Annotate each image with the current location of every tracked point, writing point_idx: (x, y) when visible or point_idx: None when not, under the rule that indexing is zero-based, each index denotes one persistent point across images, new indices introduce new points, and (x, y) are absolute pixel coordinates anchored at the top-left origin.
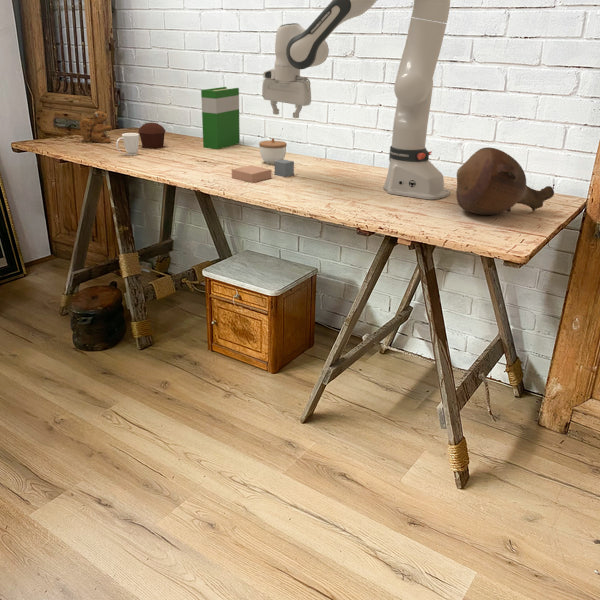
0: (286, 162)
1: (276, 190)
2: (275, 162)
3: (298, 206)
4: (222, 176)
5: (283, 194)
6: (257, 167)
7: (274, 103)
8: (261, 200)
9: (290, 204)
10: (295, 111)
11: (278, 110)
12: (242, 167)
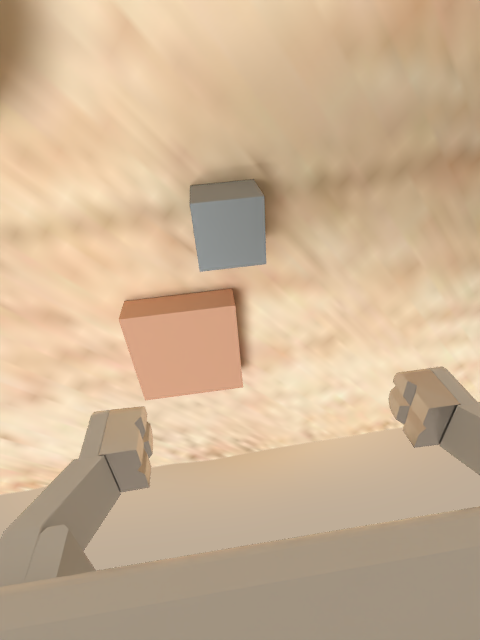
0: (254, 244)
1: (351, 365)
2: (205, 269)
3: None
4: (112, 388)
5: (390, 374)
6: (170, 323)
7: (88, 565)
8: (375, 430)
9: None
10: (463, 458)
11: (140, 446)
12: (137, 362)
